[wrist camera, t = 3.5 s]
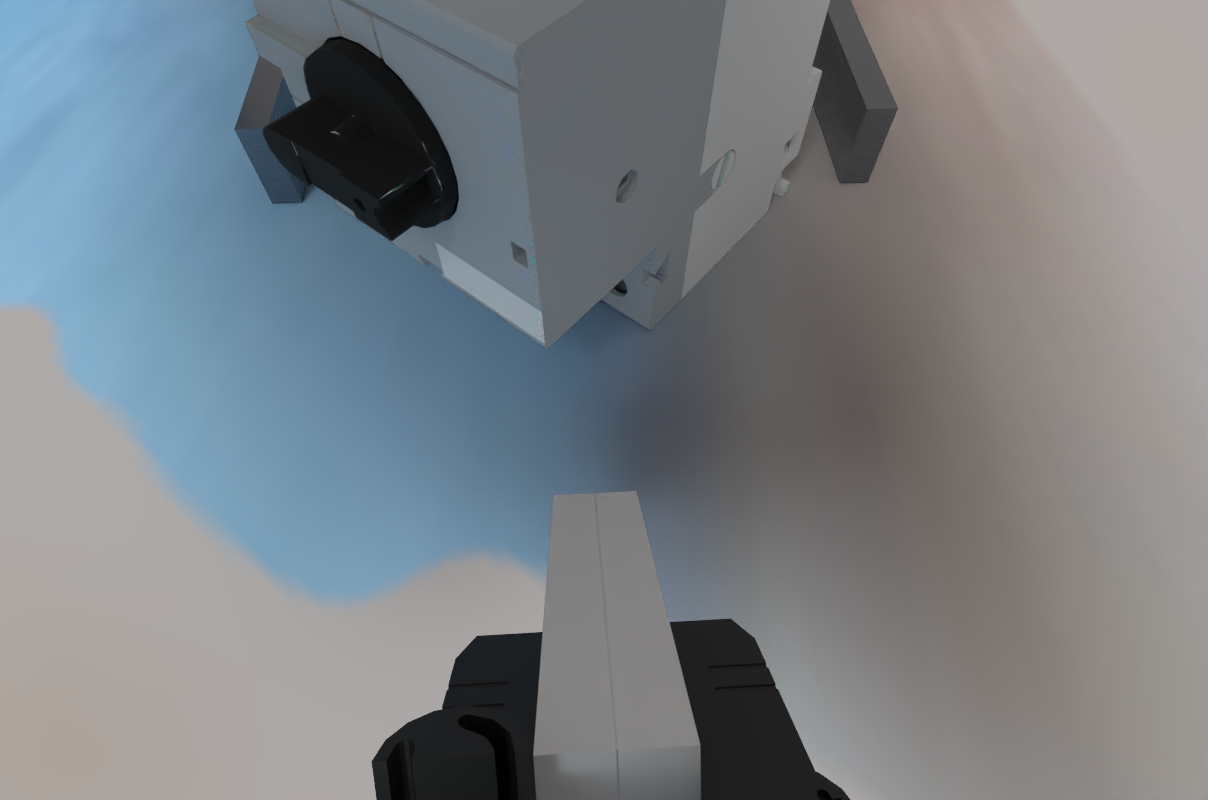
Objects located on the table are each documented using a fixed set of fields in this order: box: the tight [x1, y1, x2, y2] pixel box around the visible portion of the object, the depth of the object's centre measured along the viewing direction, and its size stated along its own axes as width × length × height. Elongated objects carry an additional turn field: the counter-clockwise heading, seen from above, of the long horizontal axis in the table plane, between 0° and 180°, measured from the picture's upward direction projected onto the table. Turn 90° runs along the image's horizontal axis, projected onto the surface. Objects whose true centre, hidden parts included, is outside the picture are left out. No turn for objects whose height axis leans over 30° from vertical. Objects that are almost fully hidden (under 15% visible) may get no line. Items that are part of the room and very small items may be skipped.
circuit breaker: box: [245, 0, 830, 348], centre depth 17 cm, size 8×14×15 cm, turn 141°
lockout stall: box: [235, 0, 898, 203], centre depth 28 cm, size 17×21×3 cm
